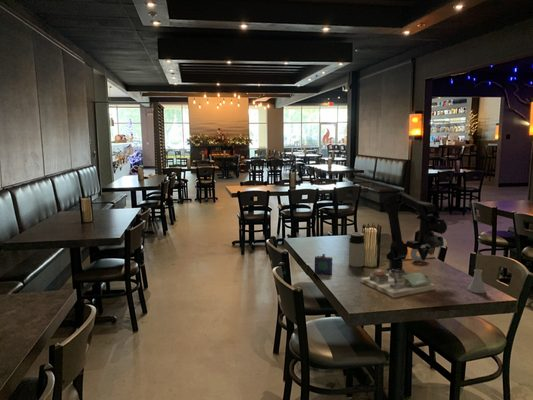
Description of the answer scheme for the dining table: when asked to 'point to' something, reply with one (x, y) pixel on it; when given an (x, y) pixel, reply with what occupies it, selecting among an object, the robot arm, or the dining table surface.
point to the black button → (398, 271)
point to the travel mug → (356, 249)
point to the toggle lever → (394, 275)
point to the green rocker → (416, 279)
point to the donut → (415, 255)
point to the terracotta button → (379, 273)
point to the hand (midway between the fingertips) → (423, 260)
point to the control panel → (389, 286)
